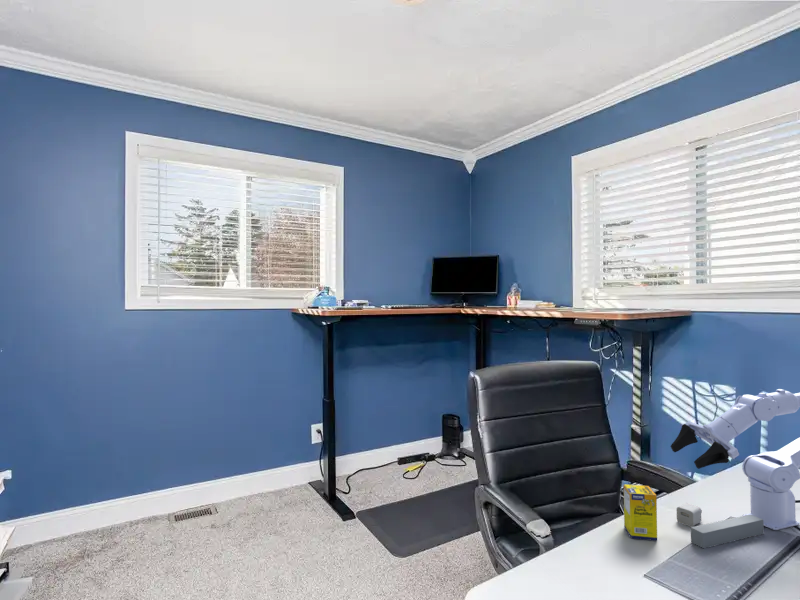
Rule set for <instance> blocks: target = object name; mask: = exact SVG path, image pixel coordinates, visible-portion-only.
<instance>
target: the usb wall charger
mask: <svg viewBox="0 0 800 600" xmlns="http://www.w3.org/2000/svg"><path fill="white" fill-rule="evenodd" d="M702 511H703V510H702V508H701V507H700V506H698V505H695V504H692V503H688V502H685V503H683V504H681V505H679V506H678V507H676V520H677V522H678V523H679V522H680V523H679V524H682V523H683V525H684V526H687V525H688V526H687V527H690V528H691V527H695V526H697V525H698V524H699V523H701V522H702Z"/></svg>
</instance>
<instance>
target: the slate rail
mask: <svg viewBox="0 0 800 600" xmlns="http://www.w3.org/2000/svg"><path fill="white" fill-rule="evenodd" d="M744 515H745V514H744ZM764 527H765V526H763V519H761V518H758V517H756V516H753V515H751V514H750V515H745V516H742V515H741V516H736V517H733V518H727V519H723V520H718V521H713V522H710V523H705V524H699V525H695V526H693V527H690V543H691V544H694V545H695V544H696V545H695V546H697V545H698V546H697V547H699V546H700V547H699V548H701V547H702V549H703V548H704V549H707V548H706V547H708V548H710V546H712V547H715V546H714V545H716V546H719V544H720V545H723V543H724V544H727V543H726V542H729V543H731V542H730V541H733V542H735V541H734V540H737V541H739V539H741V540H744V539H743V538H745V539H747V538H746V537H749V538H751V537H750V536H754V537H756V536H755V535H758V536H762V535H764V532H765V531H764V529H765V528H764ZM761 534H762V535H761Z"/></svg>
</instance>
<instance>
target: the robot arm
mask: <svg viewBox="0 0 800 600" xmlns="http://www.w3.org/2000/svg"><path fill="white" fill-rule="evenodd" d="M799 409H800V392H797V393H796V392H795V393H793V392H790V391H789V390H786V389H782V388H778V389H776V390H775V391H774V392H768V393H765V392H759V393H758V394H757V395H753V394H743V395H737V397H736V399H735V401H734V404H733V405H732V406H730V408H729V409H728V410H726V411H724V412H723V413H722V414H720V415H719V416H718V417H716V418H715V419H714V420H712V421H711V422H709V423H708V424H706V423H705V424H703V425H701V424H697V423H694V422H692V421H690V420H688V421H686V422H685V423H683V424H682V425H681V427H680V430H679V432H678V435H677V437H676V438H675V439H674V441H673V442H672V443H671V444H670V449H671V450H672V452H673V453H676V452H679V451H681V450H682V449H684V448H685V447H687V446H690V445H692V444H697V443H699V442H698V439H697V437H699V438H701V439H702V440H703V441H705V442H707V443H708V444H710V446H709V448H708V449H707V450H706V451H705V452H704V453H702V454H701V455H700V456H699V457H697V458H696V459H695V460H694V461H693V462H694V465H695V468H696V469H702V468H705V467H708V466H711V465H717V464H728V463H729V462H730V459H729V458H731V459H732V460H734V459H735V458H737V457H738V456H740V453H739V451H738V448H736V447H735V446H733V445H732V444H731V443H729V442H731V441H732V440H733V439H735V438H736V437H739V435H740V434H742V433H743V432H745V431H746V430H747V429H749V428H751V427H752V426H753V425H755V424H756V423H757V422H759V421H761V422H762V421H763V422H769V421H771V420H773V418H775V417H776V416H777V417H778V416H784V415H788V414H794V413H797V411H799ZM696 436H697V437H696ZM741 467H742V472H743V474H744V475H745V476H746V477H747V480H748V481H747V482H749V483H750V484H749V486H750V487H749V488H750V493H749V494H750V512H749V513H745V514H742V515H741V516H745V515H750V514H751V515H753V516H756V517H758V518H761V519H763V527H766V528H768V529H770V530H773V531H778V530H783V529H787V528H791V527H796V526H799V525H800V521H797V520H796V496H795V495H794V493H793V491H792V490H791V489H792V487H793V486H794V484H795V482H797V481H798V480H800V437H798V438H796V439H795V440H792V441H791V442H790V443H788V444H786V445H784V446H783V447H781V448H779V449H777V450H775V451H762V452H761V453H759V454H753V455H752V454H751V455H748V456H747V457H746V458H745V459H744V460H743V462H742V466H741Z"/></svg>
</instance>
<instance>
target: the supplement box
mask: <svg viewBox="0 0 800 600" xmlns="http://www.w3.org/2000/svg"><path fill="white" fill-rule="evenodd" d="M657 498H658V497H657V494H656V493H655V492H654V491H653V489H652V488H651V487H650V486H649V485H639V484H623V521H624V522H623V523H624V524H623V525H624V526H623V527H624V529H625V531H626V532H627V534H628V536H629V538H630V539H632V540H633V539H634V540H644V541H645V540H646V541H655V542H657V541H658V514H657V511H658V510H657V509H658V507H657V505H658V504H657V500H658V499H657Z"/></svg>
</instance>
